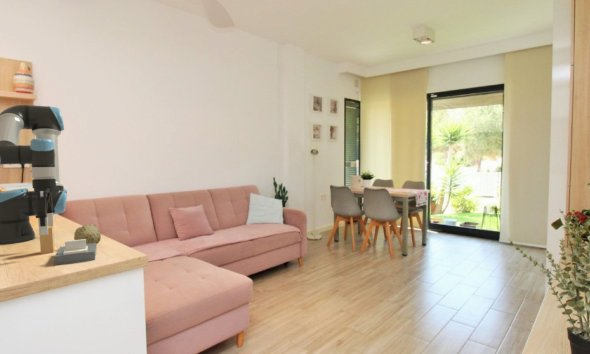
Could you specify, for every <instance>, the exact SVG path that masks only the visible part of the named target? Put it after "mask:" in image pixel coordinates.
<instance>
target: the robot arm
mask: <svg viewBox="0 0 590 354" xmlns="http://www.w3.org/2000/svg"><path fill="white" fill-rule="evenodd" d="M61 111H62V110H61V109H60V108H59V107H56V106H49V105H47V106H46V105H28V104H17V105H12V106H10V107H8V108H6V109H4V110H3V111H1V112H0V165H30V164H31V169H30V170H29V173H31V177H32V178H33V179H32V180H31V184H32V189H33V191H30V190H29V189H28V188H25V187H24V188H19V189H12V190H11V189H10V190H4V191H1V192H0V245H4V244H5V245H6V244H17V243H21V242H27V241H31V240H33V239H35V238H36V233H35V231H34V230H35V229H34V228H33V226H32V223H31V222H30V217H34V216H35V219H37V220H38V235H39V236H40V235H47V234H48V226H54V215H58V214H63V213H64V212H65V211H66V206H67V197H68V190H67V189H64V185H63V184H61V181H60V167H59V166H60V165H59V163H60V160H59V145H58V144H59V143H58V137H59V136H60V135H61V134H62V132H63V131H65V125H64V120H63V116H62V112H61ZM22 130H31V134H33V135H34V136H35V138H33V139H31V140H30V145H29V144H28V145H27V144H26V145H19V141H20V136H21V135H20V134H21V131H22Z"/></svg>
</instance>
